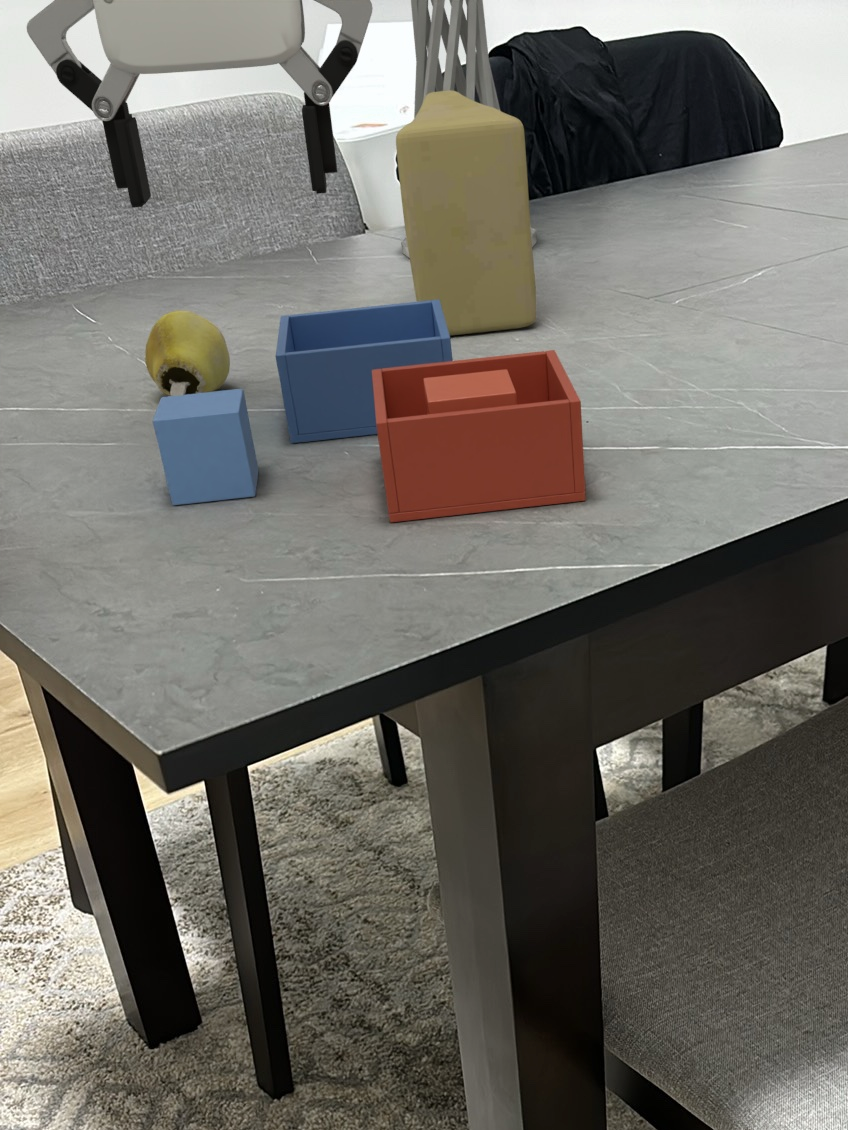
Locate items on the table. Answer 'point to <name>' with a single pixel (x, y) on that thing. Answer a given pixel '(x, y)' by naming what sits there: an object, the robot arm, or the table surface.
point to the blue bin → (351, 362)
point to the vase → (452, 56)
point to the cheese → (468, 213)
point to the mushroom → (186, 354)
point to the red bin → (479, 441)
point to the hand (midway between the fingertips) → (231, 196)
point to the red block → (469, 391)
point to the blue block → (206, 446)
